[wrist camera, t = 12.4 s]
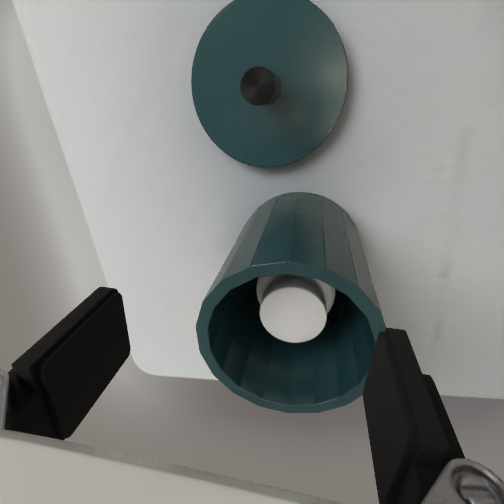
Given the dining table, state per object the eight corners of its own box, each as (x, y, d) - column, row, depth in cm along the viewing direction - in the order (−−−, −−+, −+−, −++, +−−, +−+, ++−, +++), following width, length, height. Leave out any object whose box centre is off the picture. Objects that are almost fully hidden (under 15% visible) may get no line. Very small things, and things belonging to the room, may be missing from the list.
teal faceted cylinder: (220, 227, 33) (160, 310, 20) (324, 168, 29) (331, 225, 16) (278, 312, 36) (258, 429, 24) (379, 269, 32) (422, 385, 19)
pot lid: (167, 64, 27) (134, 56, 22) (296, -51, 23) (291, -92, 18) (247, 190, 31) (233, 207, 26) (373, 113, 26) (387, 116, 21)
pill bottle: (323, 281, 33) (327, 359, 23) (265, 270, 34) (244, 341, 24) (337, 226, 30) (348, 287, 21) (273, 215, 31) (253, 270, 21)
